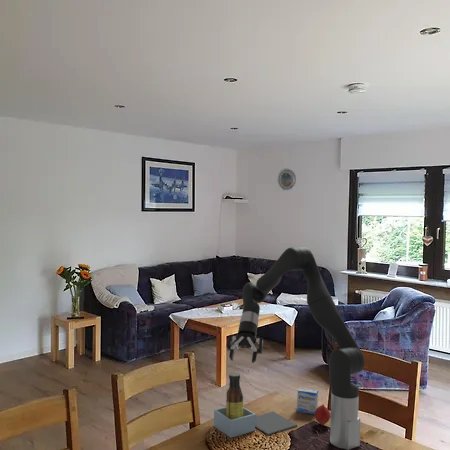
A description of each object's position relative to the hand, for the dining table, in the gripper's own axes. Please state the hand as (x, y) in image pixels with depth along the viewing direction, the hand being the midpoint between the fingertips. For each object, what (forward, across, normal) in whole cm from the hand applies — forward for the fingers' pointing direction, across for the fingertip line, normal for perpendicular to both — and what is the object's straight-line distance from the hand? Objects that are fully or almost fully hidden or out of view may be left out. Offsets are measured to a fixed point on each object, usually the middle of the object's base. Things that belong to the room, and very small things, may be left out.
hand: (242, 360), depth 184 cm
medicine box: (+7, +25, +23) cm, 35 cm away
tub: (+24, 0, +7) cm, 24 cm away
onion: (+15, +31, +16) cm, 38 cm away
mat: (+18, +12, +12) cm, 25 cm away
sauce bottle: (+24, 0, +7) cm, 25 cm away
